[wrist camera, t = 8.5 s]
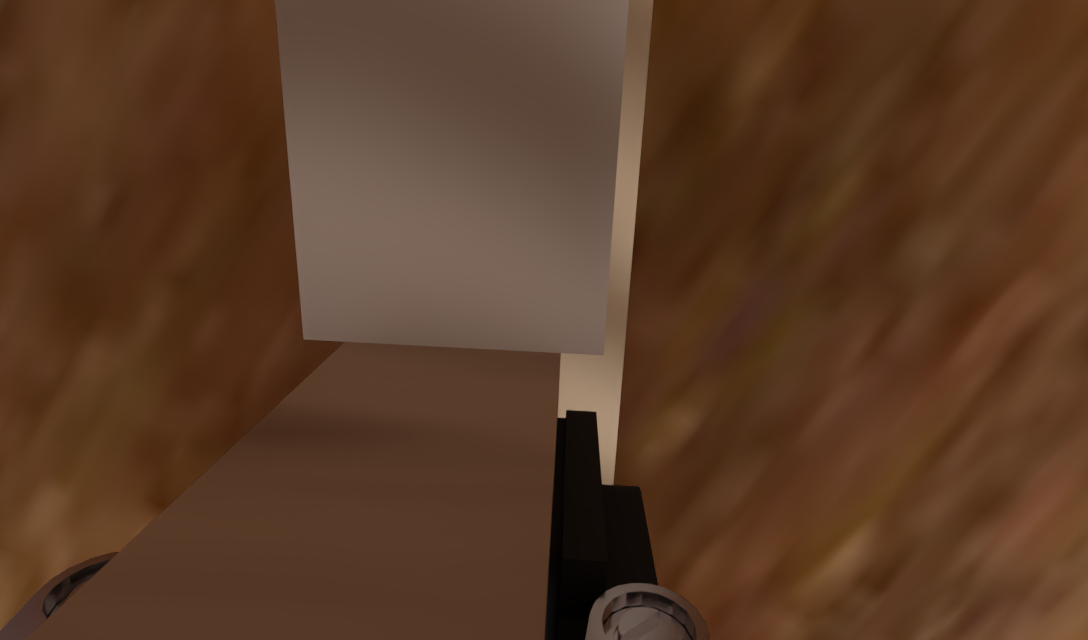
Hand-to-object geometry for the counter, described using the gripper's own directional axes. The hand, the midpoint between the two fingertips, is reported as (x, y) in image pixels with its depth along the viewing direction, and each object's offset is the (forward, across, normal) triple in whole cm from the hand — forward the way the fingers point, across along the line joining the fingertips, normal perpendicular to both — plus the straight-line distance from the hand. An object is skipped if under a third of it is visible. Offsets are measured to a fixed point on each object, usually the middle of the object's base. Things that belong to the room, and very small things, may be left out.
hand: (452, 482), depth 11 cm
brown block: (+1, 0, -4) cm, 4 cm away
